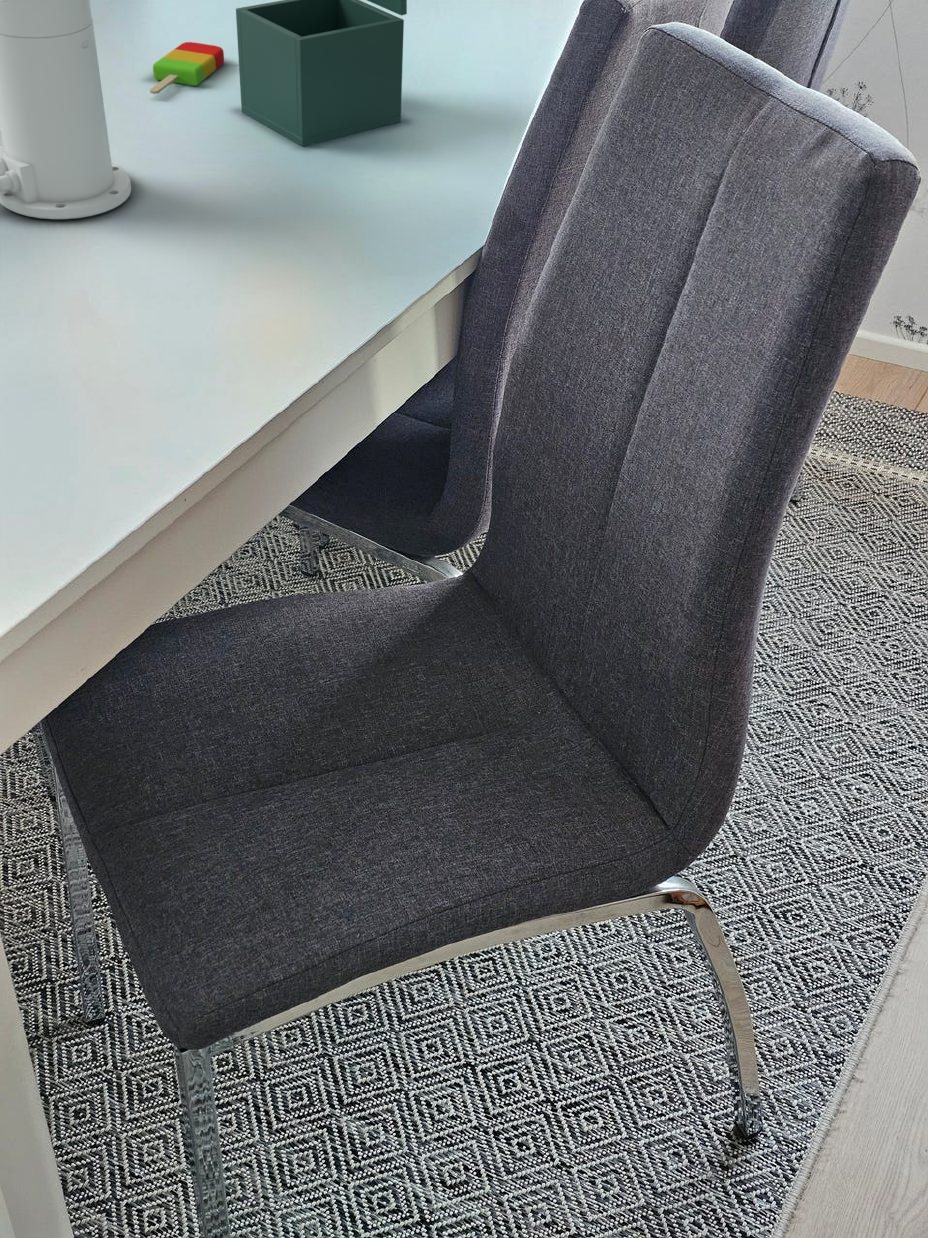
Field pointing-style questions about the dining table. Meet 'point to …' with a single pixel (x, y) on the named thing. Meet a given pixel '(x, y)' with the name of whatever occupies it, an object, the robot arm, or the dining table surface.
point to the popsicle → (187, 65)
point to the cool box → (320, 67)
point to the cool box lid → (392, 5)
